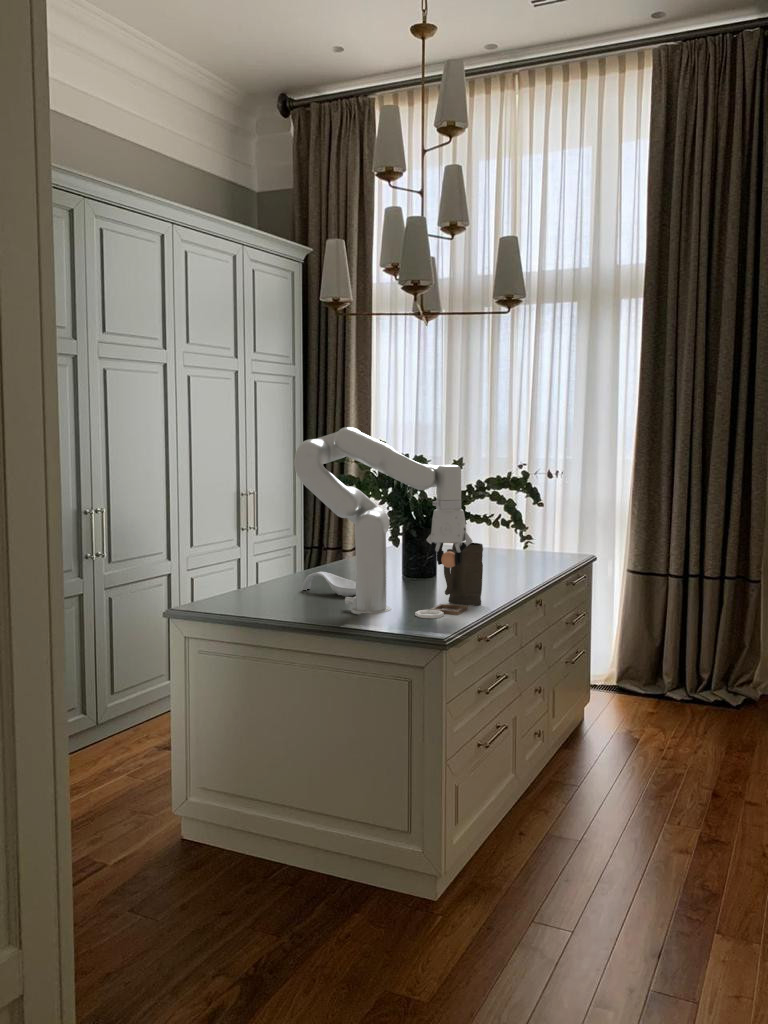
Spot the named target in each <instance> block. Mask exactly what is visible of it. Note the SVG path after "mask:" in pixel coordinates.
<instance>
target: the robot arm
mask: <svg viewBox="0 0 768 1024" xmlns="http://www.w3.org/2000/svg"><path fill="white" fill-rule="evenodd" d="M345 457H348V458H350V459H352V460H355V461H357V462H359V463H361V464H363V465H365V466H366V467H367V466H368V467H369V468H372V469H373V470H376V471H378V472H379V473H381V474H384V475H386V476H388V477H390V478H392V479H394V480H397V481H398V482H400V483H402V484H404V485H406V486H408V487H411V488H413V489H414V490H415V489H416V490H419V491H426V490H429V489H430V488H436V499H435V501H432V506H434V507H435V508H436V509H434V510H433V514H432V520H431V531H430V534H429V535H428V537H427V538H426V542H427V543H429V544H430V545H431V547H433V549H434V550H435V552H436V562H437V565H439V566H440V565H443V564H442V562H441V557H442V555H443V554H444V553H445V552H444V550H443V547H444V544H453V543H455V547H456V553H455V565H456V566H458V565H460V564H461V562H462V551H463V550H464V549H465V548H466V547H467V546H468V545H470V544H471V543H473V539H472V538H471V537H470V535H469V534H468V533H467V524H466V523H467V522H466V516H465V512H464V510H463V509H462V469H461V466H459V465H457V464H440V465H438V464H437V465H435V464H428V463H420V462H418V461H415V460H414V459H411V458H409V457H407V456H405V455H404V454H401V453H399V452H398V451H397V450H395V448H394V447H392V446H391V445H389V444H387V443H385V442H383V441H380V440H379V439H377V438H374V437H372V436H370V435H368V434H366V433H365V432H363V431H362V432H361V430H360V429H358V428H356V427H350V426H347V427H346V426H345V427H342V428H340V429H339V430H338V431H336V432H333V433H329V434H327V435H323V436H320V437H317V438H310V439H306V440H304V441H303V442H301V443H300V444H299V445H298V447H297V448H296V451H295V455H294V459H293V460H294V470H295V473H296V475H297V477H298V479H299V481H300V482H301V484H303V485H304V486H305V488H306V489H308V490H309V492H311V493H312V494H313V495H314V496H315V497H316V498H318V500H319V501H321V502H322V503H323V504H324V505H325V506H326V507H327V508H328V509H329V510H331V512H333V514H335V516H337V517H339V518H341V519H348V521H350V522H351V523H352V524H353V525H354V542H355V543H354V545H355V582H356V595H355V596H345V598H344V604H346V605H352V607H351V608H350V613H352V614H354V615H361V614H381V613H386V612H390V611H392V607H391V606H388V605H387V538H386V537H387V532H388V530H389V529H390V526H391V525H390V524H391V523H390V518H389V516H388V514H387V513H386V512H385V511H384V510H383V509H382V508H381V507H380V506H379V505H378V504H377V503H376V502H374V501H373V500H372V499H370V497H368V496H367V495H366V494H365V493H363V492H362V491H361V490H360V489H358V488H357V487H354V486H350V485H348V486H347V485H346V484H345V483H343V482H342V481H341V480H340V479H338V478H337V477H336V476H335V475H334V474H333V473H332V472H330V471H329V470H328V469H326V467H325V466H324V464H329V463H331V462H334V461H338V460H340V459H343V458H344V459H345ZM462 542H465V543H464V544H462Z"/></svg>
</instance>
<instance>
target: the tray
mask: <svg viewBox="0 0 768 1024" xmlns="http://www.w3.org/2000/svg"><path fill="white" fill-rule="evenodd" d="M429 610H439V611H442V612H444V615H455V616H459V615H460V614H463V613H464V612H466V611H467V610H468V605H459V604H449V603H448V604H447V603H439V604H436V605H435V606H433V607H432V608H430V609H429Z"/></svg>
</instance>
